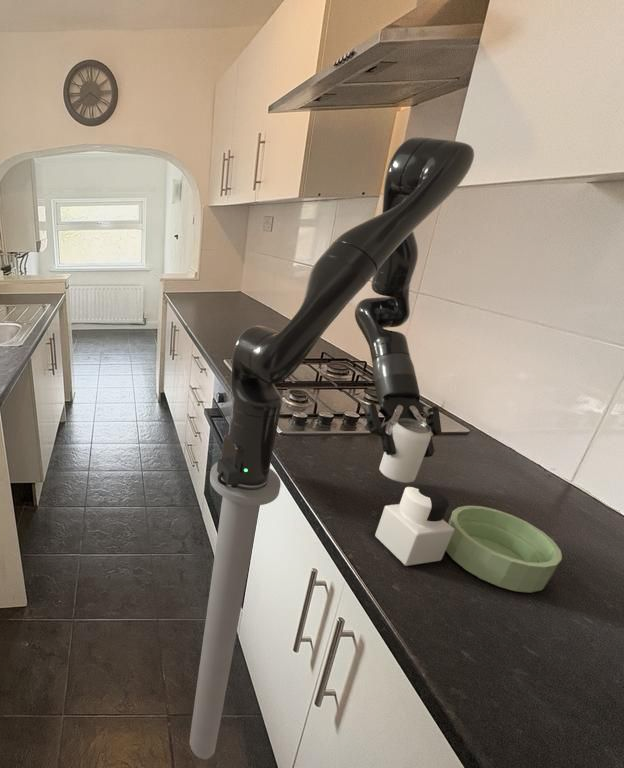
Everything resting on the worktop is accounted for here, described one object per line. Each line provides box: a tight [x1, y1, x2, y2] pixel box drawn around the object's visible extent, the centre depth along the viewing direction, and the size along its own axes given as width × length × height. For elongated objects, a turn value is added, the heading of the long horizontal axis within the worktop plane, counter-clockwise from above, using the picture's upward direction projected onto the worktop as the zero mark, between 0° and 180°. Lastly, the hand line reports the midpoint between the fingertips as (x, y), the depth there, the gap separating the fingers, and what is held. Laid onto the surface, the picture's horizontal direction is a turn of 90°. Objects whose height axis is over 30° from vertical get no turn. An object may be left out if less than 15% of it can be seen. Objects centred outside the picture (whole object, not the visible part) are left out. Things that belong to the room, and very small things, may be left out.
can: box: [378, 418, 431, 484], centre depth 85 cm, size 6×6×12 cm
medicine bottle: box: [374, 484, 454, 567], centre depth 70 cm, size 7×7×12 cm
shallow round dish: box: [445, 505, 563, 594], centre depth 69 cm, size 14×14×6 cm
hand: (409, 455), depth 83 cm, fingers closed on can, 6 cm apart
